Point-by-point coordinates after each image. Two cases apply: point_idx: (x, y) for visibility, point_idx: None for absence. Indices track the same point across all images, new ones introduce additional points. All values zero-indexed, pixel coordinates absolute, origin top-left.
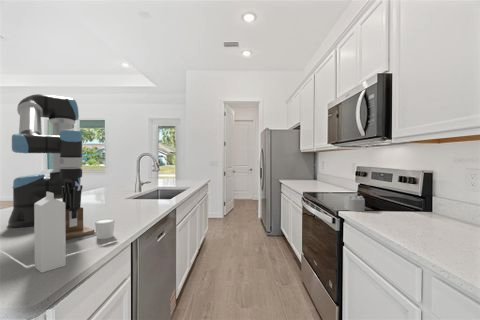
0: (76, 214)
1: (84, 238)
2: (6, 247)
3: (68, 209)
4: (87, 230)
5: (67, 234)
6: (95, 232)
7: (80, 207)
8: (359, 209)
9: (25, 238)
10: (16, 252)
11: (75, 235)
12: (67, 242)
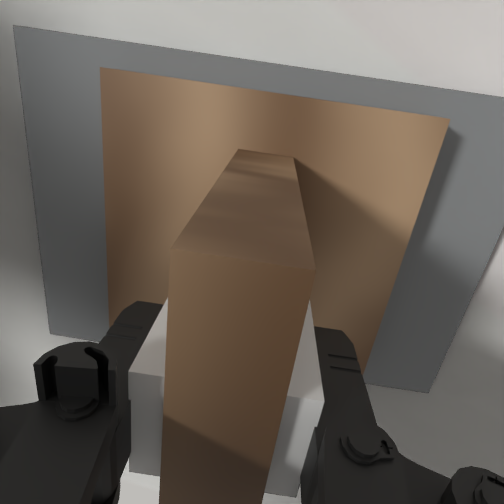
0: (361, 379)
1: (474, 266)
2: (144, 481)
3: (208, 493)
4: (388, 170)
5: (322, 325)
6: (422, 90)
7: (220, 285)
8: None
9: (35, 383)
10: (274, 499)
11: (385, 294)
12: (422, 366)
